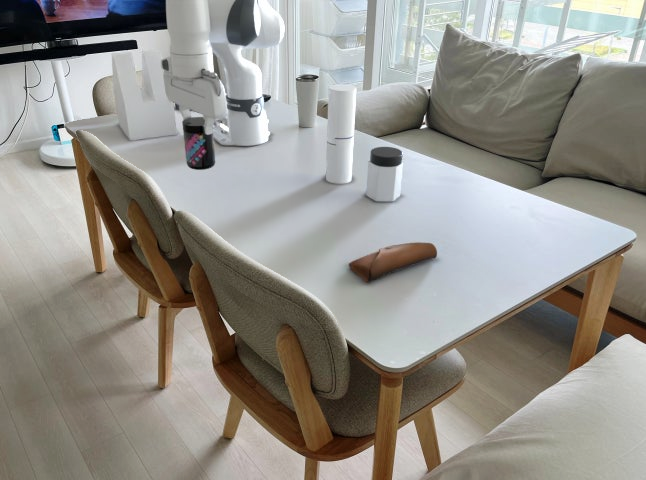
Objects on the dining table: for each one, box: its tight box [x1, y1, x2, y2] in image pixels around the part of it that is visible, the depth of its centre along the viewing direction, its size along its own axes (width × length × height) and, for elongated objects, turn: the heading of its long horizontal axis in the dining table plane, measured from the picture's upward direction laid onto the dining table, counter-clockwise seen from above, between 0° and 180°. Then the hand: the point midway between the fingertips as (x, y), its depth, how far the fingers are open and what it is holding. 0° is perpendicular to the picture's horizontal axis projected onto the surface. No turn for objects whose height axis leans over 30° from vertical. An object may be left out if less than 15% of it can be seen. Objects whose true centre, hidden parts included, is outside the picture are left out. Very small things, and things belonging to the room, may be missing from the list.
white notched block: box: [111, 49, 178, 141], centre depth 195 cm, size 19×15×25 cm
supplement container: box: [181, 116, 216, 171], centre depth 135 cm, size 7×7×10 cm
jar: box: [365, 146, 404, 203], centre depth 152 cm, size 9×8×12 cm
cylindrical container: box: [325, 83, 357, 185], centre depth 158 cm, size 7×7×25 cm
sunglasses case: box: [348, 241, 438, 283], centre depth 123 cm, size 18×7×7 cm
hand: (198, 129), depth 133 cm, fingers closed on supplement container, 7 cm apart
